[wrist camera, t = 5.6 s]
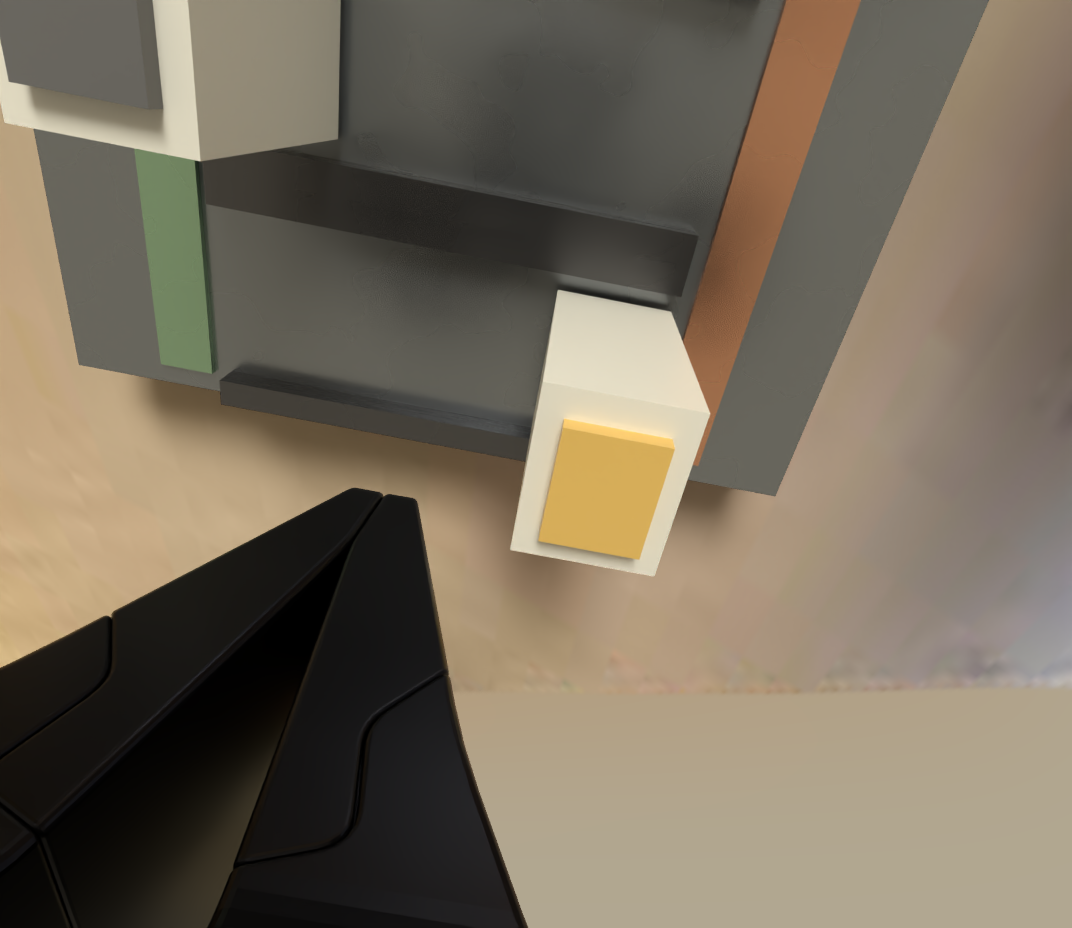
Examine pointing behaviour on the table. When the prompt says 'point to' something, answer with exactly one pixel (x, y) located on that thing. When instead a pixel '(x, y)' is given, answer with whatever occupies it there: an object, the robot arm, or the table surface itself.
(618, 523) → the block
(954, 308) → the table surface
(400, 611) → the robot arm
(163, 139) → the block
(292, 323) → the breaker panel
